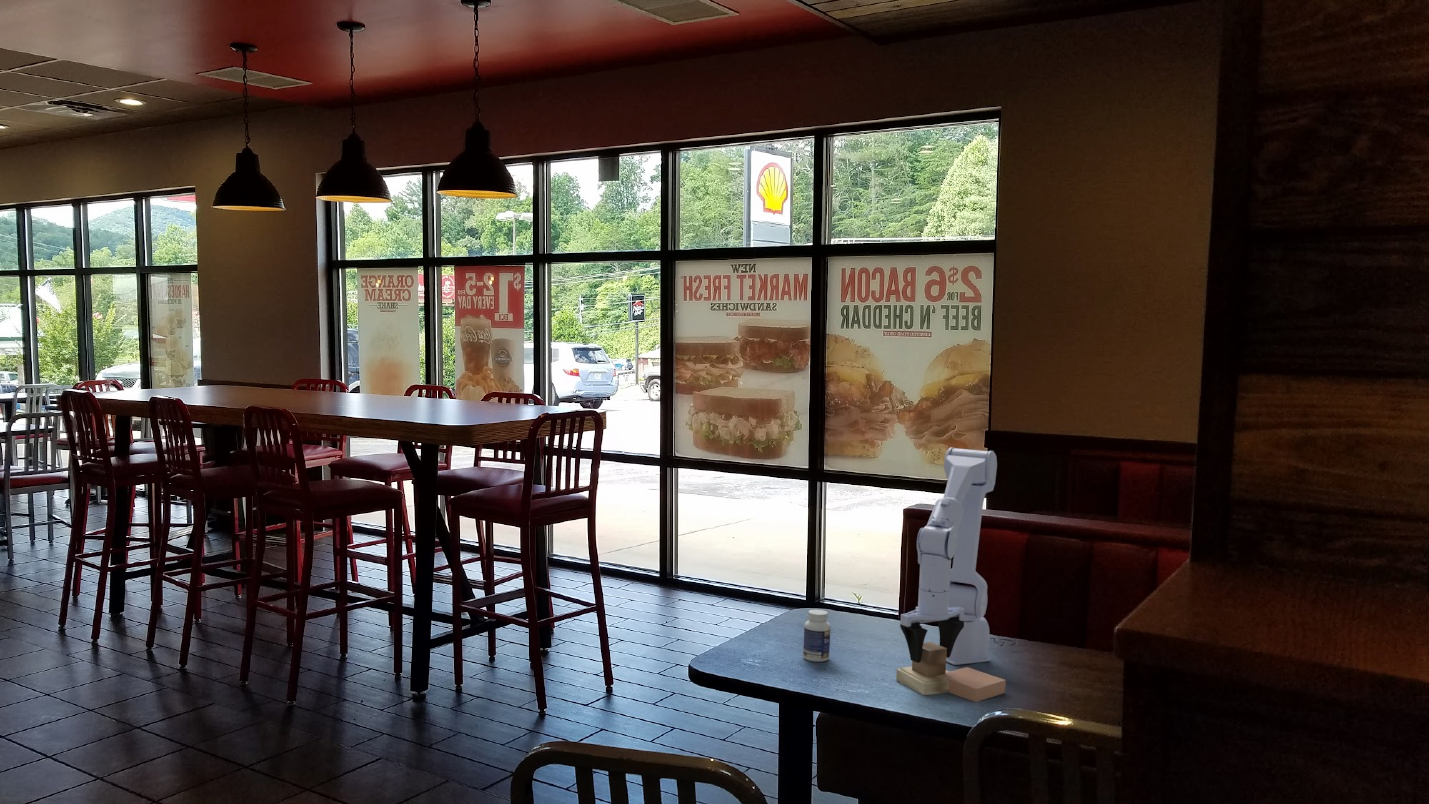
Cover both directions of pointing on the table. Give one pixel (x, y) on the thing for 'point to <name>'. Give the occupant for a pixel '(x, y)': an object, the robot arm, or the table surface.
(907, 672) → the birch plinth
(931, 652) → the walnut block
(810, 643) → the pill bottle
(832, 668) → the table surface
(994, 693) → the salmon pink slab
